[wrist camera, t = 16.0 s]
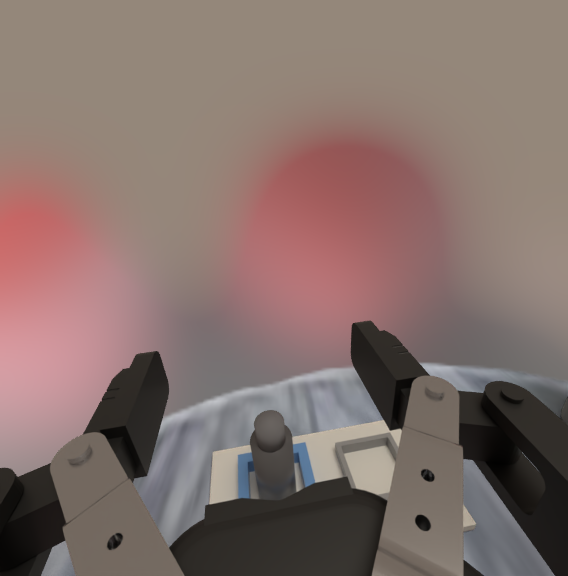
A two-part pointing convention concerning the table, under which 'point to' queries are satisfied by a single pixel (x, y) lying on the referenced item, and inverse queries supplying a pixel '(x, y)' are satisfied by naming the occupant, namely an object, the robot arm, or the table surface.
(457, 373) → the table surface
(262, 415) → the stepped grey cylinder
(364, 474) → the panel
